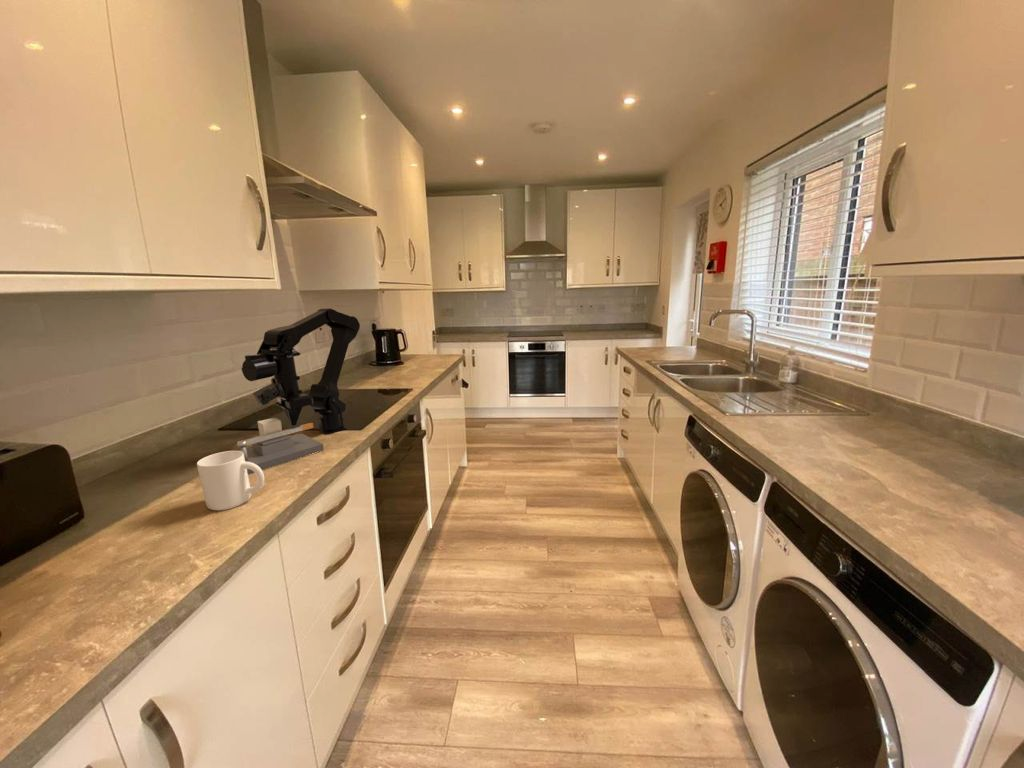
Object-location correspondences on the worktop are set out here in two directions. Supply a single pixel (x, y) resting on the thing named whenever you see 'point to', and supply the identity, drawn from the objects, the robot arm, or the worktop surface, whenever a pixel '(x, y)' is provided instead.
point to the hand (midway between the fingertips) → (293, 425)
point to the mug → (227, 479)
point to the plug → (270, 430)
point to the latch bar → (274, 435)
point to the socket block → (280, 451)
